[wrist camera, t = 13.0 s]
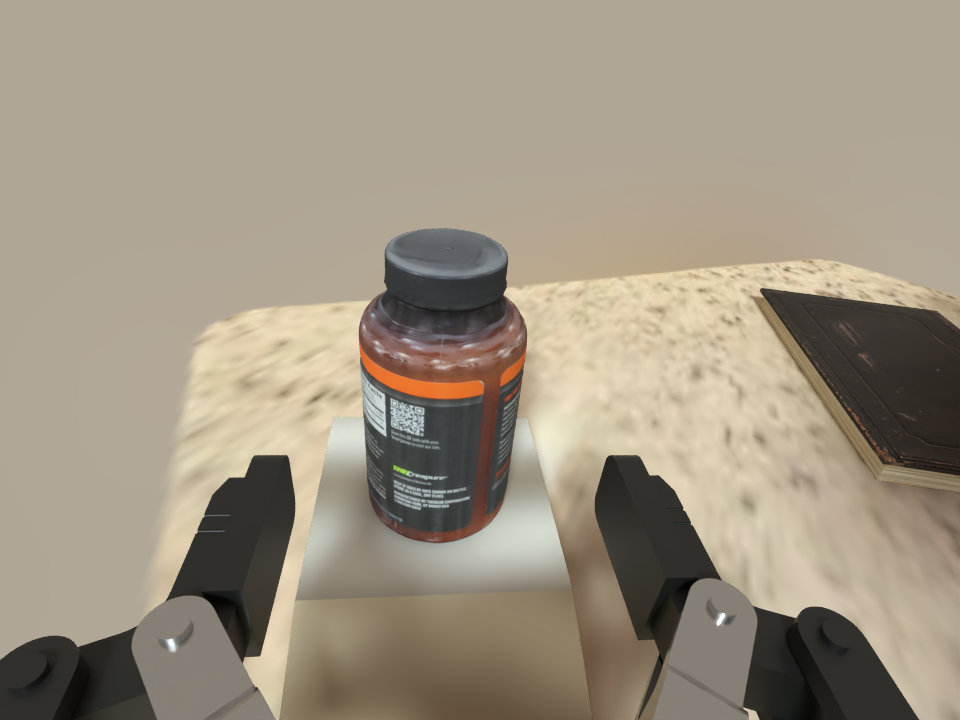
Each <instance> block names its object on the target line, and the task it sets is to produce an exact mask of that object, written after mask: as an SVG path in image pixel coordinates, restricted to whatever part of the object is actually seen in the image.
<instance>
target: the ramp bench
mask: <svg viewBox="0 0 960 720" xmlns="http://www.w3.org/2000/svg"><path fill="white" fill-rule="evenodd" d="M280 720H593V718H592V712H591V705H590V699H589V692H588V686H587V679H586V673H585V666H584V660H583V653H582V647H581V640H580V634H579V627H578V621H577V614H576V608H575V601H574V595H573V589H572V585H571V581H570V578H569V574H568V570H567V566H566V563H565V559H564V555H563V551H562V547H561V544H560V540H559V536H558V532H557V529H556V525H555V521H554V517H553V513H552V510H551V506H550V502H549V498H548V495H547V491H546V487H545V483H544V480H543V476H542V472H541V468H540V464H539V461H538V457H537V453H536V449H535V446H534V442H533V438H532V434H531V430H530V427H529V423H528V419H527V417H517V419H516V427H515V433H514V440H513V447H512V454H511V463H510V469H509V475H508V483H507V488H506V492H505V497H504V501H503V504H502V506H501V508H500V510H499V512H498V514H497V515H496V517H495V518H494V519H493V520H492V522H491V523H490V524H489V525H488V526H486V527H485V528H483V529H482V530H481V531H479V532H477V533H475V534H473V535H471V536H469V537H467V538H464V539H461V540H458V541H454V542H448V543H429V542H421V541H416V540H412V539H409V538H406V537H404V536H402V535H400V534H398V533H396V532H395V531H393V530H392V529H390V528H389V527H387V526H386V525H385V524H384V523H383V522H382V521H381V520H380V519H379V517H378V516H377V515H376V513H375V511H374V509H373V507H372V504H371V502H370V497H369V489H368V483H367V466H366V447H365V427H364V417H333V422H332V427H331V432H330V436H329V441H328V446H327V451H326V456H325V460H324V465H323V470H322V475H321V480H320V484H319V489H318V494H317V499H316V504H315V508H314V513H313V518H312V523H311V528H310V532H309V537H308V542H307V547H306V552H305V556H304V561H303V566H302V571H301V576H300V580H299V585H298V590H297V595H296V600H295V606H294V614H293V622H292V629H291V637H290V644H289V652H288V659H287V667H286V674H285V682H284V689H283V697H282V704H281V712H280Z"/></svg>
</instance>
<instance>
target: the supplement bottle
mask: <svg viewBox="0 0 960 720" xmlns="http://www.w3.org/2000/svg"><path fill="white" fill-rule="evenodd" d="M507 265H508V255H507V252H506V250H505V249H504V248H503V247H502V246H501V244H499V243H497V242H496V241H494V240H492V239H491V238H489V237H486V236H484V235H481V234H478V233H474V232H469V231H464V230H457V229H447V228H445V229H422V230H417V231H412V232H407V233H404V234H401V235H399V236H397V237H395V238H394V239H392V240H391V241H390V242H389V243H388V245H387V247H386V249H385V280H384V283H385V284H386V287H387V290H386V291H384V292H383V293H381V294H379V295H378V296H377V297H375V298H374V299H373V300H372V301H371V302H370V304H369V305H368V306H367V308H366V309H365V311H364V313H363V315H362V317H361V321H360V326H359V345H360V355H361V357H360V365H361V381H362V397H363V414H364V427H365V447H366V466H367V483H368V489H369V497H370V502H371V504H372V507H373V509H374V511H375V513H376V515H377V516H378V517H379V519H380V520H381V521H382V522H383V523H384V524H385V525H386V526H387V527H389V528H390V529H392V530H393V531H395V532H396V533H398V534H400V535H402V536H404V537H406V538H409V539H412V540H416V541H421V542H429V543H448V542H454V541H458V540H461V539H464V538H467V537H469V536H471V535H473V534H475V533H477V532H479V531H481V530H482V529H483V528H485V527H486V526H488V525H489V524H490V523H491V522H492V520H493V519H494V518H495V517H496V515H497V514H498V512H499V510H500V508H501V506H502V504H503V501H504V497H505V492H506V488H507V483H508V475H509V469H510V463H511V454H512V447H513V440H514V433H515V427H516V419H517V411H518V405H519V398H520V391H521V384H522V376H523V367H524V362H525V354H526V346H527V328H526V324H525V322H524V319H523V317H522V315H521V314H520V312H519V310H518V309H517V307H516V306H515V305H514V304H513V303H512V302H511V301H510V300H509V299H508V298H507V297H505V296H504V295H503V294H504V292H505V290H506V287H507V282H506V274H507Z"/></svg>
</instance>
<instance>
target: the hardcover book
mask: <svg viewBox="0 0 960 720" xmlns="http://www.w3.org/2000/svg"><path fill="white" fill-rule="evenodd" d="M760 292H761V293H762V295H763V296H764V297H763V299H762V301H761V304H760V308H761V310H762V311H763V313H764V314H765V316H766V317H767V318H768V320H769V321H770V323H771V324H772V326H773V327H774V329H775V330H776V332H777V333H778V335H779V336H780V338H781V339H782V341H783V342H784V344H785V345H786V347H787V348H788V350H789V351H790V353H791V354H792V356H793V357H794V359H795V360H796V362H797V363H798V365H799V366H800V368H801V369H802V371H803V372H804V374H805V375H806V377H807V378H808V379H809V381H810V382H811V384H812V385H813V387H814V388H815V390H816V391H817V393H818V394H819V396H820V397H821V399H822V400H823V402H824V403H825V405H826V406H827V408H828V409H829V411H830V412H831V414H832V415H833V417H834V418H835V420H836V421H837V423H838V424H839V426H840V427H841V429H842V430H843V432H844V433H845V435H846V436H847V438H848V439H849V441H850V442H851V443H852V445H853V446H854V448H855V449H856V451H857V452H858V454H859V455H860V457H861V458H862V460H863V461H864V463H865V464H866V466H867V467H868V469H869V470H870V472H871V473H872V475H873V476H874V478H875V479H876V480H880V481H887V482H893V483H900V484H906V485H913V486H919V487H926V488H932V489H938V490H945V491H951V492H958V493H960V329H959V328H958V327H956V326H955V325H954V324H952V323H951V322H950V321H949V320H947V319H946V318H945V317H944V316H942V315H941V314H940V313H938V312H937V311H933V310H925V309H918V308H910V307H902V306H895V305H887V304H879V303H872V302H864V301H856V300H849V299H841V298H833V297H826V296H818V295H811V294H803V293H795V292H788V291H780V290H772V289H765V288H761V289H760Z"/></svg>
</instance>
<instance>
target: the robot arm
mask: <svg viewBox="0 0 960 720" xmlns="http://www.w3.org/2000/svg"><path fill="white" fill-rule="evenodd" d="M595 514H596V519H597V522H598V525H599V528H600V531H601V534H602V536H603V539H604V542H605V545H606V548H607V551H608V554H609V557H610V560H611V563H612V566H613V569H614V571H615V574H616V577H617V580H618V583H619V586H620V589H621V592H622V595H623V598H624V601H625V604H626V606H627V609H628V612H629V615H630V618H631V621H632V624H633V627H634V630H635V633H636V636H637V638H638V640H653V639H654V640H655V642H656V645H657V648H658V650H659V652H658V654H657V657H656V659H655V662H654V665H653V668H652V671H651V674H650V677H649V680H648V683H647V686H646V689H645V692H644V695H643V698H642V701H641V704H640V707H639V709H638V712H637V715H636V718H635V720H749V715H748V712H747V711H745V710H744V709H743V707H744V708H748V709H751V710H754V711H756V712H757V714H758V717H759V719H760V720H919V719H918V718H917V716H916V714H915V713H914V711H913V710H912V708H911V707H910V705H909V704H908V702H907V701H906V699H905V697H904V696H903V694H902V693H901V691H900V690H899V688H898V687H897V685H896V684H895V682H894V681H893V679H892V677H891V676H890V674H889V673H888V671H887V670H886V668H885V667H884V665H883V664H882V662H881V661H880V659H879V657H878V656H877V654H876V653H875V651H874V650H873V648H872V647H871V645H870V644H869V642H868V641H867V639H866V638H865V636H864V635H863V634H862V632H861V631H860V630H859V629H858V628H857V627H856V626H855V625H854V624H853V623H852V622H850V621H849V620H848V619H846V618H845V617H843V616H842V615H840V614H838V613H836V612H834V611H832V610H829V609H827V608H823V607H808V608H805V609H804V610H802V611H801V612H800V614H799V615H798V616H797V618H793V617H789V616H786V615H782V614H778V613H775V612H771V611H767V610H764V609H760V608H757V607H755V606H753V605H752V604H751V603H750V601H749V600H748V599H747V598H746V596H745V595H744V594H743V593H742V592H740V591H739V590H738V589H737V588H735V587H734V586H732V585H730V584H729V583H726V582H724V581H722V580H721V578H720V576H719V574H718V573H717V571H716V569H715V567H714V565H713V563H712V561H711V559H710V557H709V555H708V554H707V552H706V550H705V548H704V546H703V544H702V542H701V540H700V538H699V536H698V535H697V533H696V531H695V529H694V527H693V525H691V521H690V519H689V517H688V516H687V514H686V512H685V511H683V506H682V504H681V502H680V500H679V498H678V496H677V495H676V493H675V491H674V490H673V489H672V488H671V487H670V486H669V485H668V484H667V483H666V482H665V481H664V480H663V479H662V478H661V477H660V476H659V475H655V476H649V474H648V472H647V470H646V468H645V466H644V464H643V461H642V460H641V458H640V457H639V456H637V455H610V456H608V457H607V459H606V461H605V465H604V468H603V472H602V475H601V478H600V482H599V485H598V489H597V492H596V496H595ZM294 517H295V495H294V488H293V482H292V475H291V469H290V463H289V458H288V456H287V455H255V456H254V457H253V458H252V460H251V463H250V465H249V468H248V470H247V473H246V476H245V478H229V479H228V480H227V481H226V482H225V483H224V484H223V485H222V486H221V487H220V488H219V489H218V490H217V491H216V492H215V493H214V494H213V495H212V497H211V500H210V502H209V504H208V507H207V509H206V511H205V514H204V518H202V521H201V523H200V525H199V527H198V532H197V534H195V537H194V539H193V541H192V544H191V546H190V548H189V551H188V553H187V555H186V558H185V560H184V562H183V564H182V567H181V569H180V571H179V574H178V576H177V578H176V581H175V583H174V585H173V588H172V590H171V592H170V594H169V596H168V598H167V599H166V601H165V602H164V603H162V604H160V605H159V606H157V607H156V608H154V609H153V610H152V611H151V612H149V613H148V614H147V615H146V616H145V617H144V619H143V620H142V621H141V622H140V624H139V625H138V626H136V627H134V628H132V629H130V630H128V631H126V632H123V633H121V634H117V635H114V636H111V637H108V638H105V639H102V640H99V641H95V642H92V643H89V644H86V645H83V646H80V647H77V646H76V644H75V643H74V642H73V641H72V640H70V639H69V638H66V637H62V636H48V637H42V638H38V639H35V640H32V641H30V642H27V643H25V644H24V645H21V646H20V647H18V648H16V649H15V650H13V651H12V652H10V653H9V654H7V655H6V656H5V657H4V658H2V659H1V660H0V720H275V718H274V716H273V714H272V712H271V710H270V708H269V706H268V704H267V702H266V701H265V699H264V697H263V695H262V694H261V692H260V690H259V689H258V688H257V687H255V686H254V684H253V683H252V681H251V679H250V677H249V675H248V673H247V671H246V670H245V668H244V666H243V661H244V657H256V656H260V655H261V651H262V647H263V643H264V639H265V635H266V631H267V627H268V623H269V619H270V615H271V611H272V607H273V603H274V599H275V595H276V591H277V587H278V583H279V579H280V576H281V572H282V568H283V564H284V560H285V556H286V552H287V548H288V544H289V540H290V536H291V532H292V528H293V523H294Z"/></svg>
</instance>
